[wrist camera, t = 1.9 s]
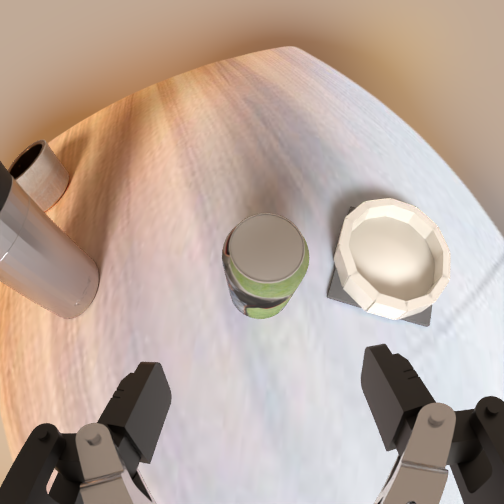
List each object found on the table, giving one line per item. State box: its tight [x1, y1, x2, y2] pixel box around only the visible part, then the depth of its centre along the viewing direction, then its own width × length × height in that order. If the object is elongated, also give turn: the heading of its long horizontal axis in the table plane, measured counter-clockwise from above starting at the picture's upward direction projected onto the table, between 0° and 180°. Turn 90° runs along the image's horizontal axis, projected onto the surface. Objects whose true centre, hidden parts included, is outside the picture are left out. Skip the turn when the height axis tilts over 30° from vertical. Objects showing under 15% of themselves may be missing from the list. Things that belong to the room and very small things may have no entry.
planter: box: [8, 140, 69, 212], centre depth 37 cm, size 11×11×10 cm
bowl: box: [334, 198, 450, 320], centre depth 27 cm, size 13×13×3 cm
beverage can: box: [222, 213, 309, 319], centre depth 23 cm, size 6×7×12 cm
